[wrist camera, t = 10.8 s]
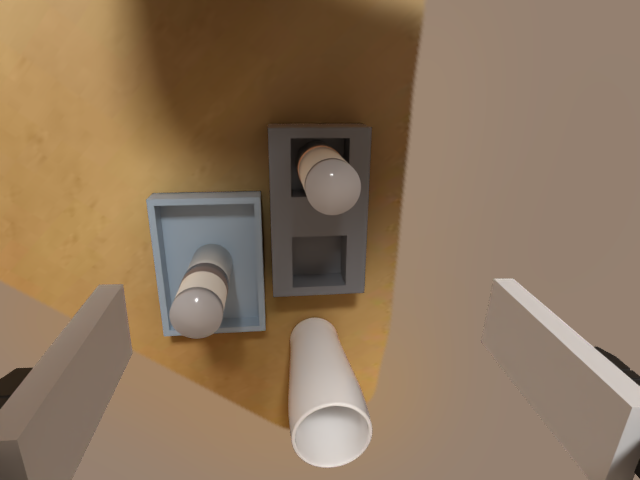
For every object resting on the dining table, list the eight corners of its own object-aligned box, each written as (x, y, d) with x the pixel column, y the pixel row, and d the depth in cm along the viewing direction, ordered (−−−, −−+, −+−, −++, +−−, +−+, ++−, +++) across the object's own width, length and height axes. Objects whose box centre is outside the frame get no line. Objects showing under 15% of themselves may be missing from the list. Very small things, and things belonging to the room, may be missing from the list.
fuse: (294, 140, 41) (304, 159, 30) (338, 140, 41) (362, 159, 31) (295, 184, 42) (304, 216, 32) (337, 183, 42) (360, 215, 32)
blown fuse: (189, 244, 43) (165, 293, 33) (231, 242, 44) (221, 290, 33) (193, 281, 44) (171, 340, 34) (234, 280, 45) (224, 337, 35)
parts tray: (152, 193, 42) (146, 199, 39) (260, 190, 43) (260, 197, 40) (169, 323, 46) (163, 336, 44) (265, 318, 48) (265, 330, 45)
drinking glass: (298, 370, 50) (310, 481, 36) (272, 324, 48) (276, 424, 34) (351, 346, 50) (385, 449, 36) (329, 299, 48) (355, 389, 34)
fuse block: (267, 123, 41) (268, 127, 37) (362, 123, 42) (371, 127, 38) (272, 279, 46) (273, 296, 42) (356, 276, 47) (364, 292, 43)
